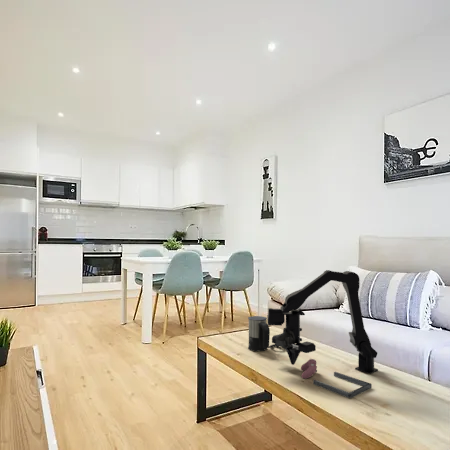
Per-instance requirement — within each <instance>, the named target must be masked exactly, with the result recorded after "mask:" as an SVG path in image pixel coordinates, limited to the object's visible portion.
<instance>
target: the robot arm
mask: <svg viewBox="0 0 450 450" xmlns="http://www.w3.org/2000/svg"><path fill="white" fill-rule="evenodd" d="M331 281H333V282H337V283H338V282H339V283H341V285H342V286H343V289H344V291H345V293H346V297H347V301H348V308H349V312H350V313H349V314H350V319H351V325H352V329H351V330H352V331H349V332H348V335H349V343H351V344H352V346H353V347H354V348H355V349H356V351H357V352H358V359H357V360H358V365H357V366H356V367H355V368H354V369H355V371H359V372H362V373H366V374H370V375H371V374H372V373H375V372H377V371H379V369H378V368H375V359H376V358H377V355H378V351H376V350H375V349H374V348H373V347H372V343H371V340H370V337H369V335H368V333H367V331H366V329H365V325H364V320H363V314H362V308H361V303H360V297H359V291H360V276H359V275H358V274H357V273H355V272H353V271H350V270H346V271H343V272H341V271H333V270H330V269H329V270H328V269H326V270H324V271H323V273H321V274H320V275H319V276H317V277H315V278H314V279H313V280H312V281H310V282H309V283H307V284H306V285H305V286H304V287H302V288H299V289H298V290H295V291H293V292H291V293H289V294H287V295H286V297H285V298H284V303H282V305H281V306H280V308H272V307H269V308H268V309H267V310H268V311H267V317H266V318H267V319H266V321H267V324H268V326H280V327H281V326H282V325H284V323H285V327H283V330H282V333H279V334H275V335H273V336H272V338H271V343H272V344H277V346H280V348H282V349H284V350H285V351H286V353H287V356H288V358H289V361H290V364H291V365H292V366H293V365H294V366H295V364H296V362H297V360H298V358H299V356H300V354H301V352H302V353H305V354H309V353H311V352H312V353H313V352H315V351H316V349H317V348H316V344H315V343H314V342H311V341H303V338H301V332H302V331H303V328H302V327H301V316H305V315H306V314H305V313H304V311H302V309H301V306H302V305H304V303H305V302H306V301H307V299H308V298H309V297H311V296H312V295H313V294H315V293H316V292H317V291H318V290H319V291H320V289H321V288H323V287H325V285H327V284H328V283H329V282H331ZM302 341H303V342H302Z"/></svg>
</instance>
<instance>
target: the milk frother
mask: <svg viewBox="0 0 450 450" xmlns="http://www.w3.org/2000/svg"><path fill="white" fill-rule="evenodd" d="M247 319H248V346H247V349H248V350H249V351H251V352H252V351H253V352H264V351H267V350H268V349H270V348H273V347H276V348H277V349H278V348H279V347H280V346H277V344H275V343H272V344H271V345H270V336H271V335H270V332H271V330H270V325H268V322H267V317H266V316H262V315H261V316H260V315H256V316H255V315H253V316H248V317H247ZM280 348H281V347H280Z"/></svg>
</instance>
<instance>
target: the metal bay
mask: <svg viewBox="0 0 450 450" xmlns="http://www.w3.org/2000/svg"><path fill="white" fill-rule="evenodd" d="M333 376H334V377H336V378H337V379H342V380H345V381H347V382H350V383H352V384H356V385H359V386H360V387H358V388H356V389H354V390H352V391H350V392H349V391H347V390H344V389H341V388H339V387H336V386H333V385H331V384H327V383H325V382H322V381H319V380H318V379H312V380H313V381H312V384H313V385H314V386H316V387H320V388H322V389H325V390H327V391H330V392H332V393H335V394H337V395H340V396H343V397H345V398H347V399H352V398H355V397H357V396H358V395H361V394H363V393H365V392H367V391H369V390H370V389H372V387H373V386H372V385H373V384H372V383H370V382H367V381H365V380H362V379H358V378H356V377H352V376H350V375H348V374H347V375H346V374H343V373H341V372H337V371H333Z"/></svg>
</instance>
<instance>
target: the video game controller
mask: <svg viewBox="0 0 450 450" xmlns="http://www.w3.org/2000/svg"><path fill="white" fill-rule="evenodd" d="M317 368H318V366H317V360H316V359H314V358H309V359H308V360H307V361H306V362H305V363H303V364H302V365H301V367H300V370H301V371H302V373H301V378H302V379H308V378H311V377H313V376H314V375H315V374H316V373H317V372H318V369H317Z"/></svg>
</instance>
